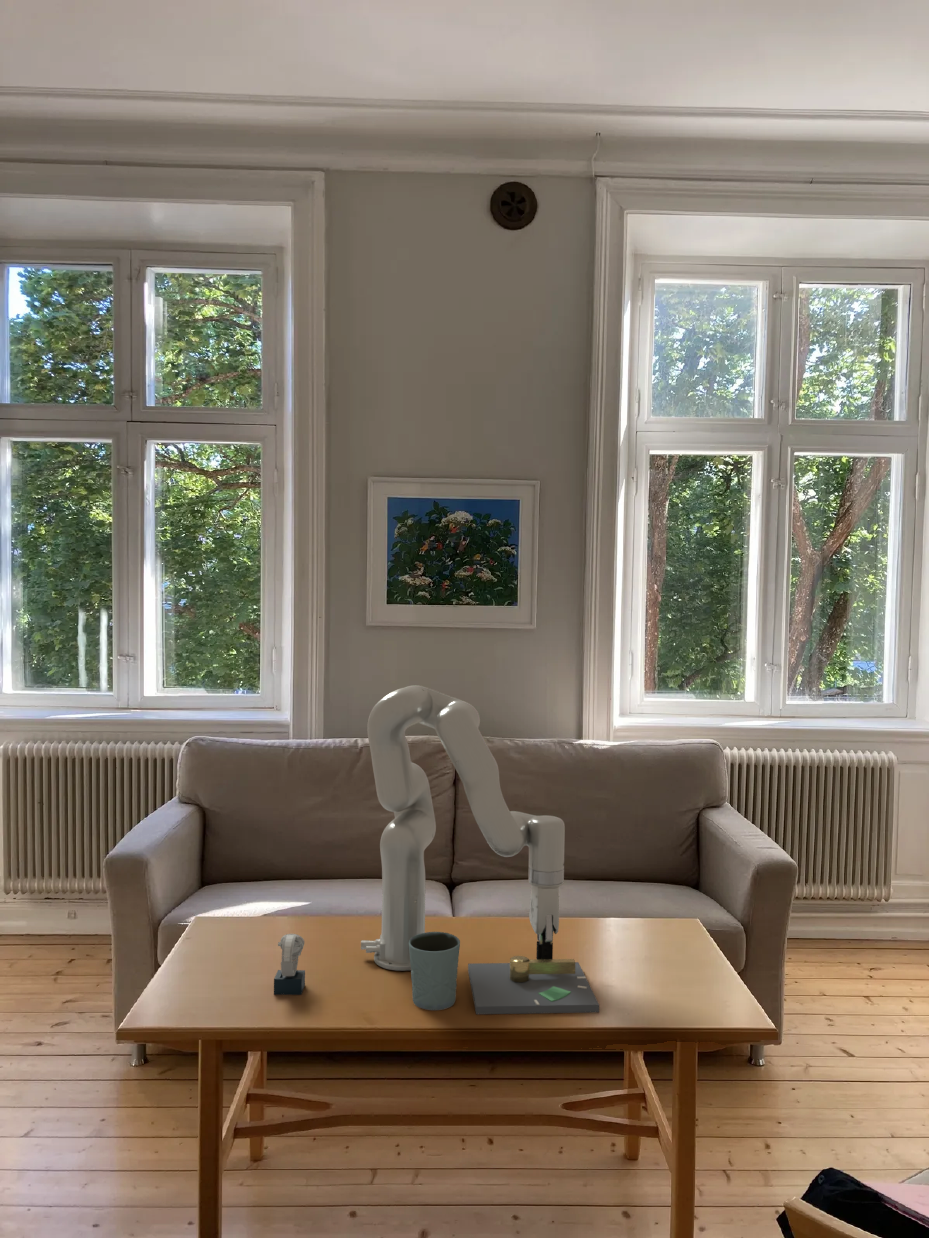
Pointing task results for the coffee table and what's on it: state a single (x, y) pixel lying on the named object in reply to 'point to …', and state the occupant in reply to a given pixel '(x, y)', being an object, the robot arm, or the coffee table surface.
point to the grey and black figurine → (290, 967)
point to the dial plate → (529, 991)
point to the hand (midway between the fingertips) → (544, 960)
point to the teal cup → (434, 969)
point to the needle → (538, 967)
